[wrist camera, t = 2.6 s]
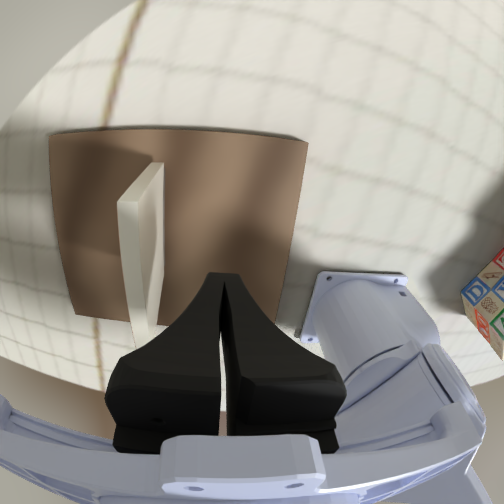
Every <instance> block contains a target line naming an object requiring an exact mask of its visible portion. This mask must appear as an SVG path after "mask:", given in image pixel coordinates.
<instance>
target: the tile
mask: <svg viewBox="0 0 504 504" xmlns="http://www.w3.org/2000/svg"><path fill="white" fill-rule="evenodd" d="M163 177H164V163H159V162H151V164H150V165H149V166H148V167H147V168H146V169H145V170H144V171H143V172H142V173H141V174H140V176H139V177H138V178H137V179H136V180H135V181H134V182H133V183H132V185H131V186H130V187H129V188H128V189H127V190H126V191H125V193H124V194H123V195H122V196H121V197H120V199H119V200H118V201H117V218H118V232H119V244H120V254H121V263H122V271H123V279H124V286H125V293H126V299H127V305H128V311H129V317H130V322H131V328H132V333H133V338H134V343H135V347H136V350H137V349H138V348H140V347H142V346H144V345H145V344H147V343H148V342H149V341H151V340H152V339H154V338H155V334H156V326H157V318H158V311H159V304H160V297H161V291H162V285H163V278H164V253H163Z"/></svg>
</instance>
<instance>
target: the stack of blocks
mask: <svg viewBox="0 0 504 504" xmlns="http://www.w3.org/2000/svg"><path fill="white" fill-rule="evenodd" d="M461 296H462V300H463V304H464V309H465V313H466V316H467V318H468V319H469V320H470V321H471V322H472V323H473V324H474V326H475V327H476V328H477V329H478V331H479V332H480V333H481V334H482V335H483V337H484V338H485V339H486V340H487V341H488V342H489V343H490V345H491V347H492V348H493V349H494V351H495V352H496V353H497V355H498V356H499V357H500V359H501V360H502V361H503V360H504V248H503V249H502V250H501V251H500V252H499V253H498V255H497V256H496V257H495V258H494V259H493V260H492V261H491V262H490V263H489V264H488V265H487V266H486V267H485V268H484V269H483V270H482V271H481V272H480V273H479V274H478V275H477V277H475V278H474V279H473V280H472V281H471V282H470V283H469V284H468V285H467V286H466V287H465V288H464V289H463V290H462V291H461Z"/></svg>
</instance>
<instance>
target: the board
mask: <svg viewBox="0 0 504 504" xmlns="http://www.w3.org/2000/svg"><path fill="white" fill-rule="evenodd" d="M307 150H308V143H307V142H305V141H299V140H292V139H285V138H278V137H270V136H262V135H253V134H243V133H233V132H220V131H205V130H183V129H121V130H100V131H85V132H74V133H64V134H55V135H51V136H49V163H50V180H51V192H52V202H53V210H54V218H55V225H56V232H57V238H58V243H59V249H60V254H61V259H62V264H63V268H64V273H65V277H66V281H67V285H68V289H69V293H70V297H71V301H72V304H73V308H74V311H75V314H76V315H83V316H89V317H96V318H103V319H110V320H118V321H126V322H130V317H129V311H128V305H127V299H126V293H125V286H124V279H123V271H122V263H121V254H120V244H119V232H118V218H117V201H118V200H119V199H120V197H121V196H122V195H123V194H124V193H125V191H126V190H127V189H128V188H129V187H130V186H131V185H132V183H133V182H134V181H135V180H136V179H137V178H138V177H139V176H140V174H141V173H142V172H143V171H144V170H145V169H146V168H147V167H148V166H149V165H150V164H151V162H159V163H164V177H163V253H164V278H163V285H162V291H161V297H160V304H159V311H158V318H157V325H164V326H170V325H171V324H172V323H173V322H174V321H175V320H176V319H177V318H178V317H179V316H180V315H181V314H182V312H183V311H184V310H185V309H186V308H187V306H188V305H189V304H190V302H191V301H192V300H193V298H194V297H195V296H196V294H197V292H198V291H199V289H200V288H201V286H202V284H203V282H204V280H205V278H206V275H207V274H208V273H209V272H218V273H234V274H239V275H240V276H241V278H242V280H243V282H244V284H245V286H246V288H247V289H248V291H249V293H250V294H251V296H252V297H253V299H254V300H255V301H256V303H257V304H258V306H259V307H260V308H261V309H262V311H263V312H264V313H265V314H266V316H267V317H268V318H269V319H270V320H271V321H272V322H273V323H274V324H275V319H276V315H277V310H278V305H279V301H280V296H281V291H282V286H283V282H284V277H285V272H286V267H287V262H288V257H289V252H290V246H291V241H292V236H293V231H294V225H295V220H296V214H297V209H298V203H299V197H300V192H301V186H302V180H303V174H304V168H305V162H306V156H307Z"/></svg>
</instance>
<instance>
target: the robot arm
mask: <svg viewBox="0 0 504 504" xmlns="http://www.w3.org/2000/svg"><path fill="white" fill-rule="evenodd" d="M329 276H331V277H330V278H329V279H327V277H329ZM395 279H396V280H395ZM394 280H395V281H394ZM407 281H408V277H407V276H406V275H397V274H372V273H349V272H328V271H323V272H320V273H319V274H318V276H317V279H316V283H315V286H314V290H313V294H312V297H311V301H310V304H309V308H308V311H307V315H306V318H305V322H304V325H303V328H302V332H301V335H300V341H301V342H302V343H320V346H321V348H322V351H323V354H324V357H325V359H323V358H321V357H319V356H317V355H315V354H313V353H311V352H310V351H308V350H307V349H305V348H304V347H302V346H300V345H299V344H298V343H296V342H295V341H293V340H292V339H291V338H290V337H288V336H287V335H286V334H285V333H283V332H282V331H281V330H280V329H279V328H278V327H277V326H276V325H275V324H274V323H273V322H272V321H271V320H270V319H269V318H268V317H267V316H266V314H265V313H264V312H263V311H262V309H261V308H260V307H259V306H258V304H257V303H256V301H255V300H254V299H253V297H252V296H251V294H250V293H249V291H248V289H247V288H246V286H245V284H244V282H243V280H242V278H241V276H240V275H239V274H234V273H218V272H209V273H208V274H207V275H206V278H205V280H204V282H203V284H202V286H201V288H200V289H199V291H198V292H197V294H196V296H195V297H194V298H193V300H192V301H191V302H190V304H189V305H188V306H187V308H186V309H185V310H184V311H183V312H182V314H181V315H180V316H179V317H178V318H177V319H176V320H175V321H174V322H173V323H172V324H171V325H170V326H169V327H167V328H166V329H165V330H164V331H163V332H162V333H160V334H159V335H158V336H157V337H155V338H154V339H152V340H151V341H149V342H148V343H147V344H145V345H144V346H142V347H140V348H138V349H137V350H135V351H133V352H131V353H129V354H127V355H125V356H123V357H121V358H120V359H119V361H118V363H117V364H116V366H115V368H114V370H113V372H112V374H111V377H110V379H109V383H108V387H107V390H106V394H105V403H106V405H107V407H108V409H109V411H110V413H111V415H112V417H113V419H114V421H115V423H116V429H115V433H114V439H113V440H111V439H106V438H102V437H98V436H94V435H90V434H86V433H82V432H79V431H75V430H72V429H68V428H65V427H62V426H59V425H56V424H53V423H50V422H47V421H44V420H41V419H39V418H36V417H33V416H31V415H28V414H26V413H23V412H21V411H19V410H16V409H14V408H12V406H11V404H10V403H9V401H8V400H7V399H6V398H5V397H4V396H2V395H1V394H0V466H2V467H3V468H5V469H7V470H9V471H10V472H12V473H14V474H16V475H18V476H20V477H22V478H23V479H25V480H27V481H29V482H32V483H33V484H35V485H37V486H39V487H42V488H44V489H46V490H48V491H50V492H52V493H55V494H57V495H59V496H62V497H64V498H67V499H69V500H72V501H75V502H77V503H80V504H373V503H375V502H378V501H384V502H399V503H410V504H493V503H492V501H491V499H490V497H489V496H488V494H487V492H486V490H485V488H484V487H483V485H482V483H481V481H480V480H479V478H478V477H477V474H476V473H475V471H474V469H473V468H472V466H471V464H470V463H471V461H472V460H473V458H474V456H475V454H476V452H477V449H478V448H479V446H480V445H481V444H482V439H483V437H484V434H485V431H486V425H485V422H486V417H485V414H484V412H483V410H482V408H481V406H480V405H479V403H478V401H477V399H476V396H475V394H474V392H473V391H472V389H471V387H470V386H469V384H468V382H467V381H466V379H465V378H464V376H463V375H462V373H461V372H460V370H459V369H458V368H457V366H456V365H455V363H454V362H453V361H452V359H451V358H450V357H449V355H448V354H447V353H446V352H445V350H444V349H443V348H442V347H441V346H440V336H439V332H438V329H437V326H436V324H435V323H434V321H433V320H432V318H431V317H430V316H429V315H428V313H427V312H426V311H425V310H424V308H423V307H422V306H421V305H420V303H419V302H418V301H417V300H416V298H415V297H414V296H413V295H412V294H411V292H410V291H409V290H408V289H407V288H406V284H407ZM220 333H221V337H222V347H223V355H224V364H225V373H226V412H227V436H218V433H219V419H220V405H221V371H220V351H219V341H220ZM309 338H310V339H309Z"/></svg>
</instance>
